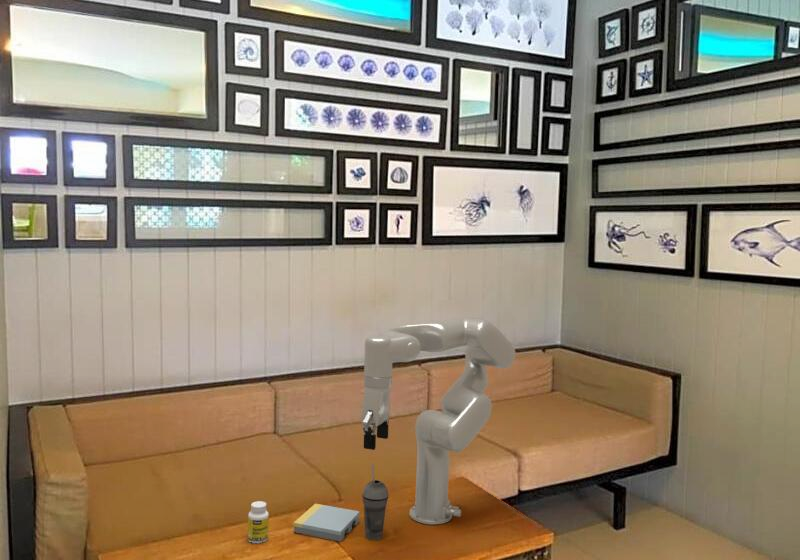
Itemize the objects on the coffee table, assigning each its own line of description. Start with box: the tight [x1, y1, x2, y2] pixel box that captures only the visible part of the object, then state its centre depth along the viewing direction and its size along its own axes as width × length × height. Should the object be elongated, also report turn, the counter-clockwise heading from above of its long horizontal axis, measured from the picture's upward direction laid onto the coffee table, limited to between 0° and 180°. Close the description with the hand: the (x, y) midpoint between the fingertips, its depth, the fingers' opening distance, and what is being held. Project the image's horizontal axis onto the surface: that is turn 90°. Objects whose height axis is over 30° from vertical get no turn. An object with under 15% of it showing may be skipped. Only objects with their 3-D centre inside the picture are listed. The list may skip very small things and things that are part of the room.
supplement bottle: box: [246, 500, 270, 544], centre depth 179 cm, size 5×5×10 cm
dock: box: [293, 503, 361, 543], centre depth 188 cm, size 14×14×3 cm
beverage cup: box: [361, 464, 389, 541], centre depth 183 cm, size 7×7×20 cm
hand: (376, 443), depth 182 cm, fingers open, 9 cm apart
